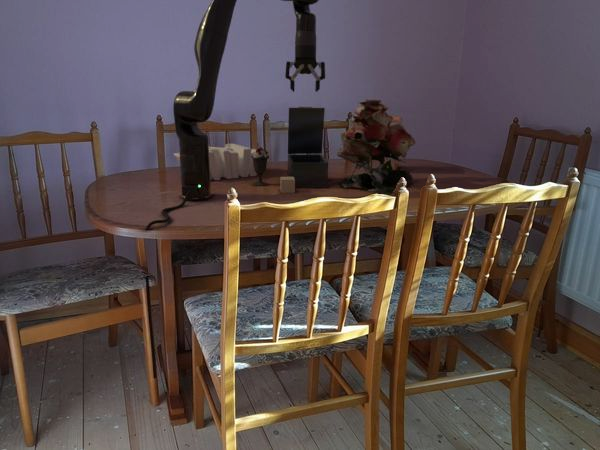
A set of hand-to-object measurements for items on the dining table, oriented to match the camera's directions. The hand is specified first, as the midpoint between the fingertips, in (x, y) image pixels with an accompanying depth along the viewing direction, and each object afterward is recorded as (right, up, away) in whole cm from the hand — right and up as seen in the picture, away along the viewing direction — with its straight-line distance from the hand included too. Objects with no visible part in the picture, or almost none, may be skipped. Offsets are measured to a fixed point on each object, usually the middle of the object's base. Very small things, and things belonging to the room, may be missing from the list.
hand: (304, 91), depth 195 cm
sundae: (-16, -34, -3) cm, 38 cm away
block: (-6, -37, -13) cm, 40 cm away
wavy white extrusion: (-31, -29, +12) cm, 45 cm away
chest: (+1, -33, 0) cm, 33 cm away
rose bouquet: (+24, -34, 0) cm, 41 cm away
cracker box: (+35, -26, +26) cm, 51 cm away
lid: (0, -14, +1) cm, 15 cm away
